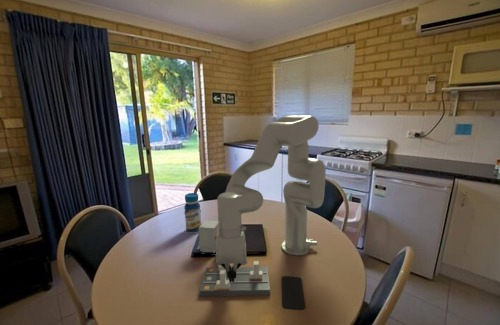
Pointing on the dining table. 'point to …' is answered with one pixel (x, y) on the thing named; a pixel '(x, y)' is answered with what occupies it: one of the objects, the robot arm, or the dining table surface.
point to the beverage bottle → (192, 213)
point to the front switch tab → (223, 281)
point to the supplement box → (208, 236)
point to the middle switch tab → (256, 272)
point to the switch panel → (235, 283)
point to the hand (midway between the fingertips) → (232, 279)
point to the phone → (292, 293)
